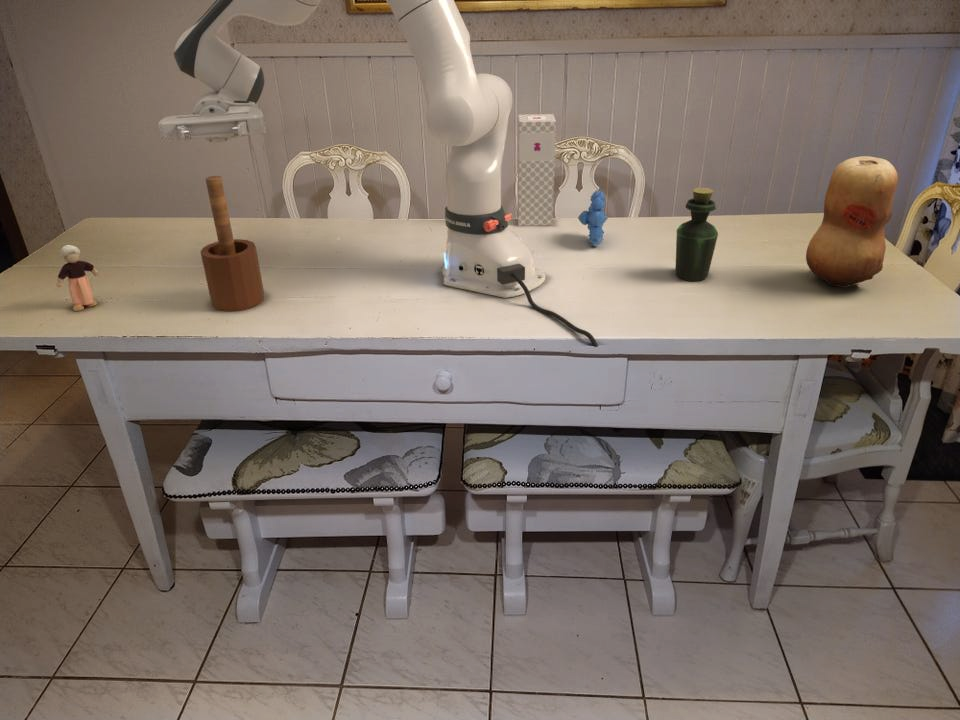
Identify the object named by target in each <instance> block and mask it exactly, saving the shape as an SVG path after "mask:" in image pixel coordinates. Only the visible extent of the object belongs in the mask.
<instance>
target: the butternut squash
mask: <svg viewBox="0 0 960 720" xmlns="http://www.w3.org/2000/svg"><path fill="white" fill-rule="evenodd" d="M898 182H899V175H898V172H897V170H896V168H895V166H894V165H893V164H892V163H891V162H890V161H888V159H884V158H881V157H874V156H867V155H865V156H863V155H862V156H855V157H850V158H847V159H845V160H843V161H841V162H840V163H839V164H838V165H837V166H836V167H835V169H834V170H833V172H832V174H831V176H830V180H829V183H828V186H827V189H826V193H825V196H824V204H823V217H822V221H821V224H820V225H819V226H818V229H817V230H816V231H815V233H814V234H813V235H812V237H811V238H810V241H809V242H808V245H807V248H806V252H805V261H806V264H807V266H808V268H809V270H810V272H811V273H812V274H813V275H814V276H815V277H817V278H819V279H821V280H823V281H825V282H826V283H827V284H828V285H831V286H835V287H842V288H843V287H845V288H847V287H849V286H855V285H856V284H859V283H864V282H867V281H870V280H872V279H873V278H874V276H875V275H877V274H878V273H880V272H881V271H882V270H883V268H884V260H885V254H886V247H887V246H886V238H885V227H886V225H887V224H888V223H889V222H890V220H891V218H892V215H893V212H892V210H893V209H892V208H893V207H892V206H893V203H894V198H895V194H896V190H897V186H898Z"/></svg>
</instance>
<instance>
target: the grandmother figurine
mask: <svg viewBox="0 0 960 720" xmlns="http://www.w3.org/2000/svg"><path fill="white" fill-rule="evenodd" d="M59 253H60V255H61V258H63V259H64V261H65V262H67V263H64V264H63V265H62V266H61V268H60V271H59V272H58V274H57V283H56V287H58V288H62V287H63V286H64V284H63V283H64V281H65V279H66V278H67V282H68V289H69V295H70V298H71V302H72V305H73V307H72V310H73V311H74V312H80V311H83V310H84V309H85V307H87V308H91V307H95V306H97V305H98V302H97V301H96V300H94V296H93V290H92V287H91V285H90V284H91V283H90V281H89V277H88V275H87V274H86V272H90V273H92V275H93V276H98V275H99V270H97V269H96V268H95V266H94V264H92V263H91V262H87V261H84V260H79V258H80V255H81V250H80V249H79V248H78V247H77V246H75V245H71V244H66V245H64V246H62V248H61V249H60V252H59Z"/></svg>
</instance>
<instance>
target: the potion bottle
mask: <svg viewBox="0 0 960 720" xmlns="http://www.w3.org/2000/svg"><path fill="white" fill-rule="evenodd" d="M713 193H714V190H713V189H711V188H707V187H696V188H693V189H692V198H690V199H688V200H687V201H686V203H685V208H686V209H687V210H689V211H690V217H691V219H690V220H688V221H685V222H683V223H681V224H680V225H679V226H678V227H677V229H676V237H675V240H676V242H675V275H676V276H677V278H679V279H681V280H684V281H688V282H701V281H704V280H705V279H707V277H709V273H710V269H711V265H712V261H713V256H714V253H715V249H716V245H717V242H718V241H717V240H718V237H719V232H718V230H717V227H716V225H713V224H712V223H710V222H709V221H707V220H708V217H709V215H710V213H711V212H713V211H715V210H716V209H717V207H716V202H715V201H714V200H713V199H712V196H713Z"/></svg>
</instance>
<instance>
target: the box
mask: <svg viewBox="0 0 960 720" xmlns="http://www.w3.org/2000/svg"><path fill="white" fill-rule="evenodd" d="M556 134H557V120H556V118H555V114H554V113H539V114H538V113H537V114H533V113H532V114H530V113H529V114H517V205H516V206H517V209H516V210H517V211H516V212H517V224H518V227H527V226H530V227H531V226H533V227H535V226H540V227H541V226H554V225H553V224H554V197H555V196H554V195H555V168H556V163H555V162H556V137H557V135H556Z"/></svg>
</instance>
